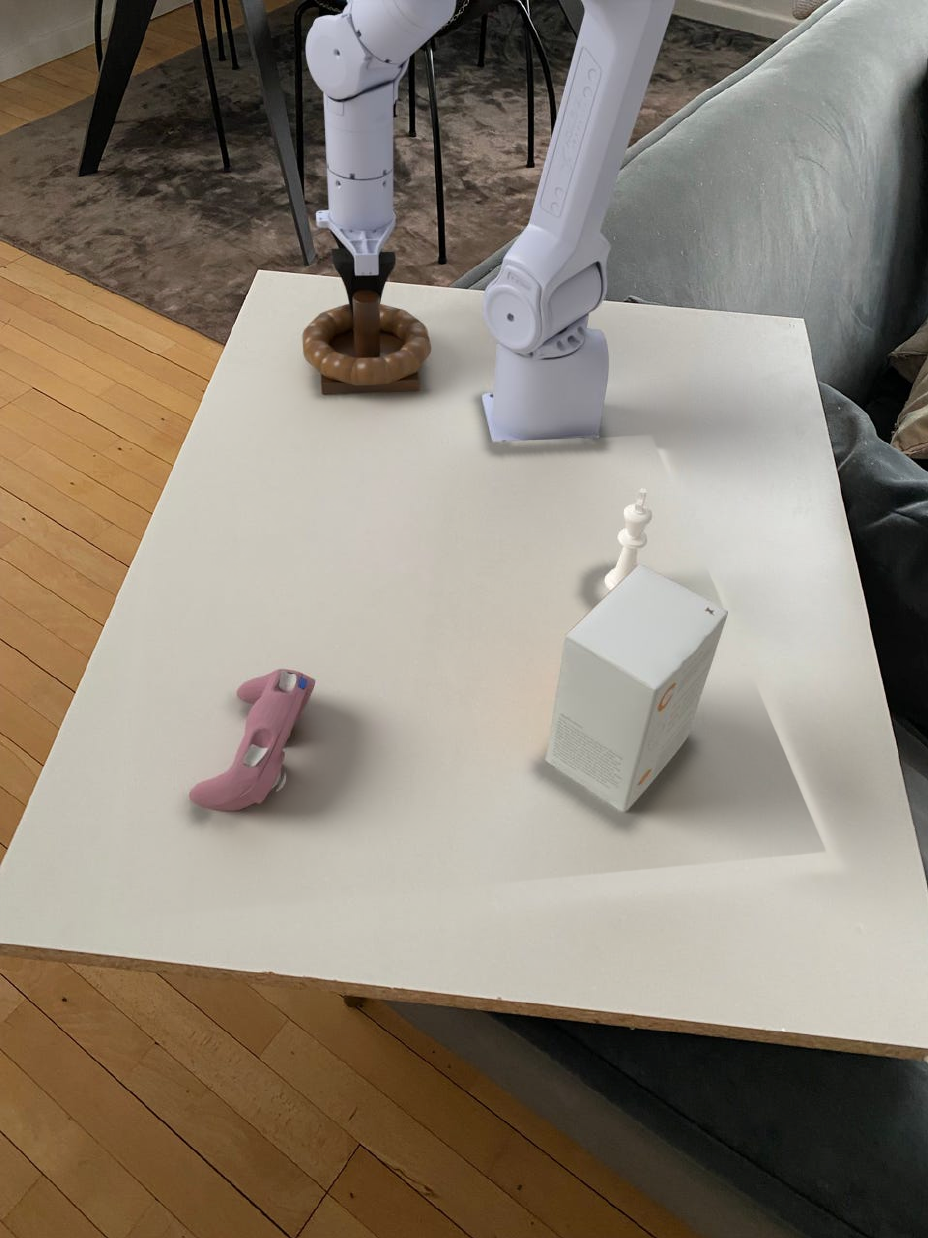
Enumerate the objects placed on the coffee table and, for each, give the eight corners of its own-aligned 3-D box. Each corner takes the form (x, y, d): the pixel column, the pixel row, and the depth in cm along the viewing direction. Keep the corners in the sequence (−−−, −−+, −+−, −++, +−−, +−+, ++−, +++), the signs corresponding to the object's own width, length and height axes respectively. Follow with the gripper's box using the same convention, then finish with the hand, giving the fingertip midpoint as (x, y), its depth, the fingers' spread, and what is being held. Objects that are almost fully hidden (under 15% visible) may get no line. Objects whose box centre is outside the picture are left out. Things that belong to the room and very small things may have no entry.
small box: (607, 697, 72) (639, 559, 63) (687, 745, 70) (733, 609, 60) (539, 770, 68) (562, 633, 58) (621, 825, 65) (660, 691, 56)
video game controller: (247, 840, 65) (288, 793, 60) (179, 809, 64) (216, 758, 59) (296, 718, 72) (337, 667, 67) (236, 688, 71) (273, 633, 66)
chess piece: (658, 580, 81) (684, 478, 73) (645, 623, 77) (670, 521, 70) (596, 564, 82) (616, 461, 74) (580, 606, 78) (599, 503, 71)
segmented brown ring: (422, 318, 103) (422, 296, 101) (437, 387, 95) (437, 364, 93) (301, 322, 101) (299, 300, 100) (306, 392, 93) (304, 369, 92)
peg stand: (410, 338, 103) (411, 270, 97) (419, 391, 97) (421, 321, 91) (318, 341, 102) (314, 272, 96) (321, 394, 95) (317, 324, 90)
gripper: (310, 131, 95) (318, 270, 104) (316, 204, 85) (324, 350, 95) (388, 131, 95) (389, 269, 105) (402, 203, 86) (401, 348, 95)
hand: (363, 307), depth 100 cm, fingers open, 4 cm apart
